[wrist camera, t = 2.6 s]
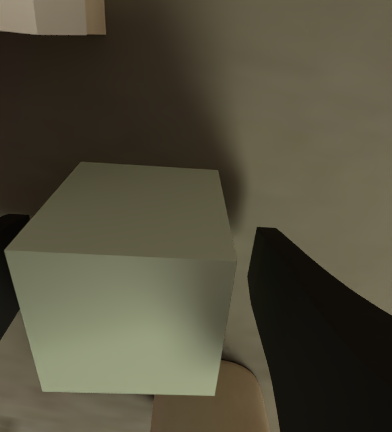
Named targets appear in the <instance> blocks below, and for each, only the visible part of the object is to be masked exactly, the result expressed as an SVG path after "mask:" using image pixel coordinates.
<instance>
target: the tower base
mask: <svg viewBox="0 0 392 432" xmlns="http://www.w3.org/2000/svg"><path fill="white" fill-rule="evenodd" d="M85 12H86V28H87V34H99V35H106V25H105V7H104V0H85Z"/></svg>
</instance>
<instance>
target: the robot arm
mask: <svg viewBox="0 0 392 432" xmlns="http://www.w3.org/2000/svg"><path fill="white" fill-rule="evenodd" d="M29 221H30V217H29V215H20V214H7V215H4V216H2V217H0V340H1V338H2V337H3V335H4V333H5V332H6V330H7V329H8V327H9V325H10V324H11V322H12V321H13V319H14V317H15V316H16V314H17V313H18V311H19V309H20V307H19V303H18V300H17V296H16V292H15V289H14V285H13V281H12V278H11V274H10V270H9V267H8V263H7V259H6V256H5V252H4V250H5V249H6V247H7V246H8V245H9V244H10V243H11V242H12V241H13V239H14V238H15V237H16V236H17V235H18V234H19V232H20V231H21V230H22V229H23V228H24V227H25V226H26V224H27V223H28V222H29ZM247 277H248V285H249V293H250V300H251V305H252V309H253V313H254V316H255V320H256V324H257V328H258V331H259V335H260V338H261V342H262V345H263V349H264V353H265V356H266V360H267V364H268V367H269V371H270V376H271V380H272V385H273V391H274V397H275V403H276V408H277V414H278V420H279V427H280V432H392V315H390V314H388V313H387V312H385V311H383V310H382V309H380V308H378V307H377V306H375V305H374V304H372V303H371V302H369V301H368V300H366V299H364V298H363V297H361V296H360V295H358V294H357V293H355V292H354V291H353V290H351V289H350V288H348V287H347V286H345V285H344V284H343V283H341V282H340V281H339V280H338V279H336V278H335V277H334V276H332V275H331V274H330V273H328V272H327V271H326V270H325V269H323V268H322V267H321V266H320V265H318V264H317V263H316V262H315V261H314V260H312V259H311V258H310V257H309V256H308V255H307V254H305V253H304V252H303V251H302V250H301V249H300V248H299V247H297V246H296V245H295V244H294V243H293V242H292V241H291V240H289V239H288V238H287V237H286V236H285V235H284V234H283V233H281V232H280V231H279V230H278V229H276V228H266V227H257V230H256V235H255V240H254V245H253V250H252V255H251V260H250V266H249V271H248V276H247Z"/></svg>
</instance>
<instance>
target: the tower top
mask: <svg viewBox="0 0 392 432" xmlns="http://www.w3.org/2000/svg"><path fill="white" fill-rule="evenodd" d="M0 31H7V32H16V33H25V34H34V35H87V28H86V12H85V0H0Z"/></svg>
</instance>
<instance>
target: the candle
mask: <svg viewBox="0 0 392 432" xmlns="http://www.w3.org/2000/svg"><path fill="white" fill-rule="evenodd" d="M150 432H270V431H269V426H268V421H267V416H266V411H265V406H264V402H263V397H262V393H261V389H260V386H259V384H258V381H257V379H256V377H255V376H254V375H253V374H252V373H251V372H250V371H249V370H248V369H246V368H244V367H243V366H240V365H238V364H236V363H233V362H229V361H224V360H221V361H220V367H219V373H218V379H217V385H216V391H215V396H201V395H162V394H155V395H154V403H153V411H152V421H151V431H150Z"/></svg>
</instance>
